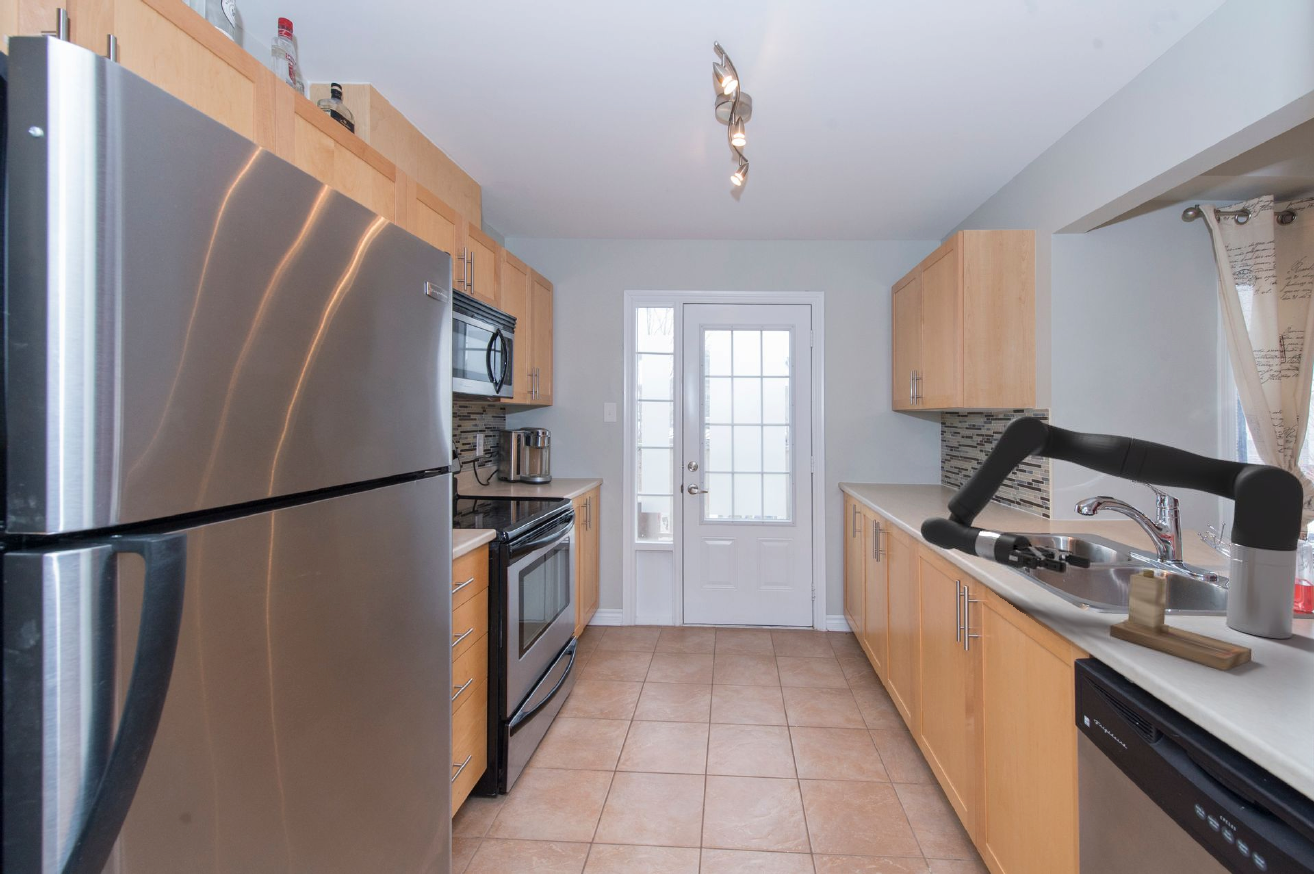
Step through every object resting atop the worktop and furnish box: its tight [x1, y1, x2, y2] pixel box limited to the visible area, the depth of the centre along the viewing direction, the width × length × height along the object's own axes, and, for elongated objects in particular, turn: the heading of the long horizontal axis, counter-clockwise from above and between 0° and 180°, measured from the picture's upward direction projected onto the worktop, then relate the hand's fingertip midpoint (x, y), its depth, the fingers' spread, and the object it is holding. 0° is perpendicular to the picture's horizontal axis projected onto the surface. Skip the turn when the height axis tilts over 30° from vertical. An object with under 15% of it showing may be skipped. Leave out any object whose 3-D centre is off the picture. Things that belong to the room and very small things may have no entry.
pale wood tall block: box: [1123, 568, 1170, 636], centre depth 112 cm, size 5×6×11 cm
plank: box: [1109, 621, 1252, 671], centre depth 109 cm, size 10×17×2 cm, turn 26°
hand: (1077, 565), depth 123 cm, fingers open, 8 cm apart
